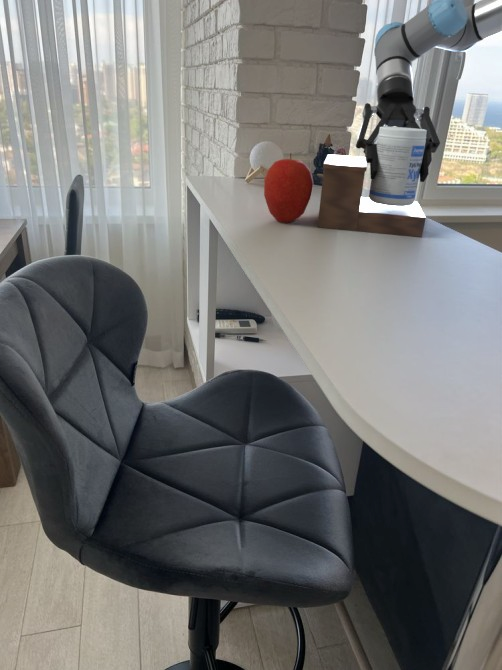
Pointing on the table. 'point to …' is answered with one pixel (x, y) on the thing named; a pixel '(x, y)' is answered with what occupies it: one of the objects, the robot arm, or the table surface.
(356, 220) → the step shelf
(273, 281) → the table surface
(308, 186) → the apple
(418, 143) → the supplement tub
